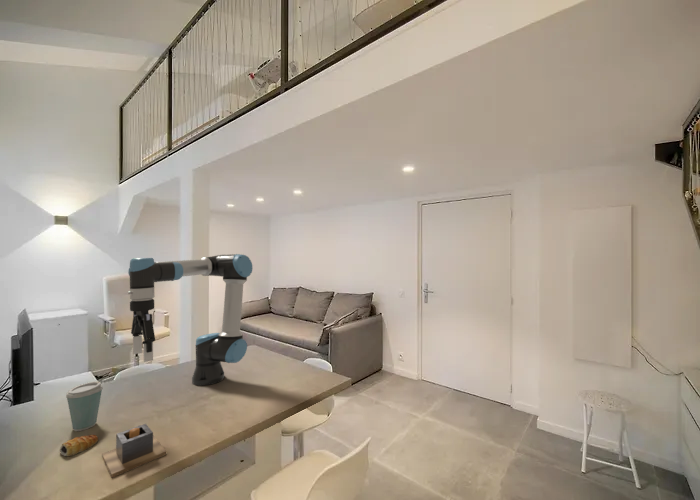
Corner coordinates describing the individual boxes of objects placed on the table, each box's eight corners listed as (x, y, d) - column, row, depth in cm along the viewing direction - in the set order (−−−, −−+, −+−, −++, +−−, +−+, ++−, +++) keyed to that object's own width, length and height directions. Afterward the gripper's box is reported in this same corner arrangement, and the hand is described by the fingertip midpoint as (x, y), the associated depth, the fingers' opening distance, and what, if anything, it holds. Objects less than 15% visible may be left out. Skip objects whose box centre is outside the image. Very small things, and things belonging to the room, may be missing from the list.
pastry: (91, 438, 108) (92, 427, 108) (102, 443, 105) (102, 432, 105) (57, 454, 99) (57, 442, 99) (67, 459, 96) (67, 447, 97)
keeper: (102, 457, 97) (102, 431, 97) (153, 437, 107) (153, 414, 108) (111, 477, 88) (111, 449, 88) (166, 454, 98) (166, 428, 98)
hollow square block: (116, 453, 97) (116, 433, 98) (145, 441, 103) (145, 423, 103) (122, 464, 92) (122, 443, 92) (152, 451, 98) (153, 432, 98)
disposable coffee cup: (71, 437, 108) (71, 394, 108) (60, 429, 114) (61, 388, 114) (107, 423, 117) (107, 383, 117) (95, 416, 123) (96, 378, 123)
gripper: (121, 297, 120) (121, 352, 119) (140, 303, 103) (140, 367, 103) (144, 295, 125) (144, 348, 125) (165, 301, 109) (165, 361, 108)
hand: (142, 357), depth 114 cm, fingers open, 13 cm apart
